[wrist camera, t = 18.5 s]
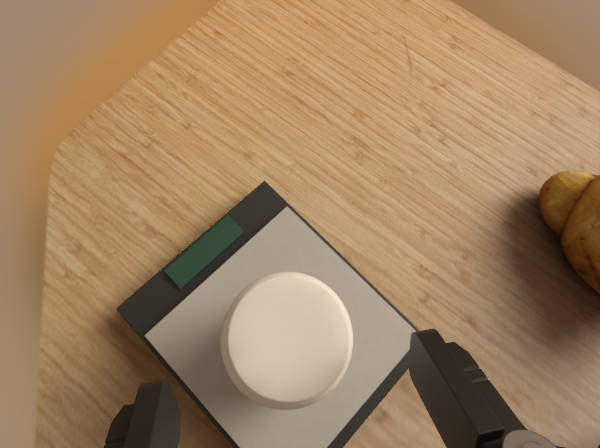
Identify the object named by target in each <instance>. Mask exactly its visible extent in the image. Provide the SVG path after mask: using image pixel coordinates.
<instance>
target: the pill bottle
mask: <svg viewBox="0 0 600 448" xmlns="http://www.w3.org/2000/svg"><path fill="white" fill-rule="evenodd" d="M352 349H353V331H352V325H351V321H350V317H349V315H348V312H347V310H346V308H345V306H344V304H343V303H342V301H341V300H340V298H339V297H338V296H337V294H336V293H335V292H334V291H333V290H332V289H331V288H330V287H328V286H327V285H326V284H324V283H323V282H322V281H320V280H318V279H316V278H314V277H312V276H309V275H306V274H303V273H298V272H279V273H273V274H270V275H266V276H264V277H261V278H259V279H257V280H255V281H254V282H252V283H251V284H249V285H248V286H247V287H245V288H244V289H243V290H242V291H241V292H240V293H239V294H238V295H237V297H236V298H235V299H234V301H233V302H232V304H231V305H230V307H229V309H228V311H227V313H226V315H225V318H224V321H223V325H222V330H221V353H222V359H223V362H224V365H225V368H226V370H227V372H228V374H229V376H230V378H231V380H232V381H233V383H234V384H235V385H236V387H237V388H238V389H239V390H240V391H241V392H242V393H243V394H244V395H245V396H247V397H248V398H249V399H251V400H252V401H254V402H256V403H258V404H260V405H262V406H265V407H268V408H272V409H277V410H294V409H300V408H304V407H307V406H310V405H312V404H314V403H316V402H318V401H320V400H322V399H323V398H324V397H326V396H327V395H328V394H329V393H330V392H331V391H333V389H334V388H335V387H336V386H337V385H338V383H339V382H340V381H341V379H342V377H343V376H344V374H345V372H346V370H347V368H348V365H349V362H350V359H351V355H352Z"/></svg>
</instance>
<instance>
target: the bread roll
mask: <svg viewBox="0 0 600 448" xmlns="http://www.w3.org/2000/svg"><path fill="white" fill-rule="evenodd" d="M539 203H540V210H541V214H542V217H543V219H544V221H545V222H546V224H547V225H548V226H549V227H550V228H551V229H552V230H553V231H554V232H555V233H556V234H557V235H558V236H560V238H561V247H562V249H563V251H564V253H565V255H566V259H567V260H568V261H569V262H570V264H571V265H572V267H573V268H574V270H575V271H576V272H577V273H578V274H579V275H580V277H581V278H582V279H583V280H584V281H585V282H586V283H587V284H588V285H589V286H590V287H592V288H593V289H594V290H595V291H596V292H598V293H599V294H600V175H593V174H589V173H584V172H578V171H566V172H560V173H557V174H555V175H553V176H551V177H550V178H549V179H548V180H547V181H546V182H545V183H544V184H543V186H542V188H541V190H540V193H539Z"/></svg>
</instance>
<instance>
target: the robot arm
mask: <svg viewBox="0 0 600 448" xmlns="http://www.w3.org/2000/svg"><path fill="white" fill-rule="evenodd" d="M409 372H410V376H411V379H412V381H413V384H414V386H415V388H416V389H417V391H418V393H419V395H420V397H421V399H422V401H423V403H424V405H425V407H426V409H427V411H428V413H429V415H430V416H431V418H432V420H433V422H434V424H435V426H436V428H437V430H438V432H439V434H440V436H441V438H442V440H443V442H444V443H445V445H446V447H447V448H564V447H558V446H555V445H554V444H552V443H551V442H550V441H549V440H547V439H546V438H545V437H543V436H541V435H539V434H537V433H535V432H532V431H528V430H527V429H526V428H525V427H524V426H523V425H522V423H521V422H520V421H519V420H518V418H517V417H516V415H515V414H514V413H513V411H512V410H511V409H510V407H509V406H508V405H507V403H506V402H505V401H504V399H503V398H502V397H501V395H500V394H499V393H498V391H497V390H496V389H495V387H494V386H493V385H492V383H491V382H490V381H488V379H487V377H486V375H485V374H484V373H483V371H482V370H481V369H479V366H478V364H477V363H476V362H475V360H474V359H473V358H472V356H471V355H470V354H469V352H467V351H466V350H464V349H463V348H462V347H460V346H459V345H458V344H456V343H455V342H451V343H445V341H444V340H443V338H442V337H441V335H440V334H439V333H438V331H437V330H435V329H429V330H423V331H418V332H413V333H412V334H411V339H410V351H409ZM179 435H180V413H179V409H178V406H177V403H176V400H175V398H174V395H173V392H172V389H171V387H170V384H169V381H168V380H167V379H163V380H158V381H153V382H147V383H142V384H141V385H140V386H139V389H138V392H137V396H136V400H135V403H134V404H130V405H124V406H123V407H122V409H121V410H120V411H119V413H118V414H117V416H116V417H115V418H114V420H113V421H112V423H111V425H110V429H109V432H108V435H107V438H106V441H105V442H106V444H105V445H104V447H103V448H178V443H179ZM598 448H600V445H599V447H598Z"/></svg>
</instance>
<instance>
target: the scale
mask: <svg viewBox="0 0 600 448" xmlns="http://www.w3.org/2000/svg"><path fill="white" fill-rule="evenodd" d="M279 272H298V273H303V274H306V275H309V276H312V277H314V278H316V279H318V280H320V281H322V282H323V283H324V284H326V285H327V286H328V287H330V288H331V289H332V290H333V291H334V292H335V293H336V294H337V296H338V297H339V298H340V300H341V301H342V303H343V304H344V306H345V308H346V310H347V312H348V315H349V317H350V321H351V325H352V331H353V349H352V355H351V359H350V362H349V365H348V368H347V370H346V372H345V374H344V376H343V377H342V379H341V381H340V382H339V383H338V385H337V386H336V387H335V388H334V389H333V391H331V392H330V393H329V394H328V395H327V396H326V397H324V398H323V399H322V400H320V401H318V402H316V403H314V404H312V405H310V406H307V407H304V408H300V409H294V410H277V409H272V408H268V407H265V406H262V405H260V404H258V403H256V402H254V401H252V400H251V399H249V398H248V397H247V396H245V395H244V394H243V393H242V392H241V391H240V390H239V389H238V388H237V387H236V385H235V384H234V383H233V381H232V380H231V378H230V376H229V374H228V372H227V370H226V368H225V365H224V362H223V359H222V353H221V330H222V325H223V321H224V318H225V315H226V313H227V311H228V309H229V307H230V305H231V304H232V302H233V301H234V299H235V298H236V297H237V295H238V294H239V293H240V292H241V291H242V290H243V289H244V288H245V287H247V286H248V285H249V284H251V283H252V282H254V281H255V280H257V279H259V278H261V277H264V276H266V275H270V274H273V273H279ZM117 310H118V312H119V313H120V314H121V315H122V316H123V318H124V319H125V320H126V321H127V322H128V323H129V325H130V326H131V327H132V328H133V329H134V330H135V332H136V333H137V334H138V335H139V336H140V338H141V339H142V340H143V341H144V342H145V343H146V345H147V346H148V347H149V348H150V349H151V351H152V352H153V353H154V354H155V355H156V356H157V358H158V359H159V360H160V361H161V362H162V363H163V365H164V366H165V367H166V368H167V369H168V371H169V372H170V373H171V374H172V375H173V376H174V378H175V379H176V380H177V381H178V382H179V384H180V385H181V386H182V387H183V388H184V389H185V391H186V392H187V393H188V394H189V395H190V396H191V398H192V399H193V400H194V401H195V402H196V404H197V405H198V406H199V407H200V408H201V409H202V411H203V412H204V413H205V414H206V415H207V417H208V418H209V419H210V420H211V421H212V422H213V424H214V425H215V426H216V427H217V428H218V429H219V431H220V432H221V433H222V434H223V435H224V437H225V438H226V439H227V440H228V441H229V442H230V444H231V445H232V446H233V447H234V448H343V446H344V445H345V444H346V443H347V442H348V440H349V439H350V438H351V437H352V436H353V434H354V433H355V432H356V431H357V430H358V428H359V427H360V426H361V425H362V424H363V422H364V421H365V420H366V419H367V417H368V416H369V415H370V414H371V413H372V411H373V410H374V409H375V408H376V407H377V405H378V404H379V403H380V402H381V401H382V399H383V398H384V397H385V396H386V395H387V393H388V392H389V391H390V390H391V389H392V387H393V386H394V385H395V384H396V383H397V381H398V380H399V379H400V378H401V376H402V375H403V374H404V373H405V372H406V370H407V369H408V368H409V351H410V339H411V334H412V333H413V332H418V331H419V330H418V329H417V328H416V327H415V326H414V325H413V324H412V323H411V322H410V321H409V320H408V319H407V318H406V317H405V316H404V315H403V314H402V313H401V312H400V311H399V310H398V309H397V308H396V307H395V306H394V305H393V304H392V303H390V302H389V301H388V300H387V299H386V298H385V297H384V296H383V295H382V294H381V293H380V292H379V291H378V290H377V289H376V288H375V287H374V286H373V285H372V284H371V283H370V282H369V281H368V280H367V279H366V278H365V277H364V276H363V275H362V274H361V273H359V272H358V271H357V270H356V269H355V268H354V267H353V266H352V265H351V264H350V263H349V262H348V261H347V260H346V259H345V258H344V257H343V256H342V255H341V254H340V253H339V252H338V251H337V250H336V249H335V248H334V247H333V246H332V245H331V244H329V243H328V242H327V241H326V240H325V239H324V238H323V237H322V236H321V235H320V234H319V233H318V232H317V231H316V230H315V229H314V228H313V227H312V226H311V225H310V224H309V223H308V222H307V221H306V220H305V219H304V218H303V217H302V216H301V215H299V214H298V213H297V212H296V211H295V210H294V209H293V208H292V207H291V206H290V205H289V204H288V203H287V202H286V201H285V200H284V199H283V198H282V197H281V196H280V195H279V194H278V193H277V192H276V191H275V190H274V189H273V188H272V187H271V186H269V185H268V184H267V183H266V182H265V181H264V182H263V183H261V184H260V185H259V186H258V187H257V188H256V189H254V190H253V191H252V192H251V193H250V194H249V195H248V196H246V197H245V198H244V199H243V200H242V201H241V202H239V203H238V204H237V205H236V206H235V207H234V208H232V209H231V210H230V211H229V212H228V213H227V214H226V215H224V216H223V217H222V218H221V219H220V220H219V221H217V222H216V223H215V224H214V225H213V226H212V227H210V228H209V229H208V230H207V231H206V232H205V233H204V234H202V235H201V236H200V237H199V238H198V239H197V240H195V241H194V242H193V243H192V244H191V245H190V246H188V247H187V248H186V249H185V250H184V251H183V252H182V253H180V254H179V255H178V256H177V257H176V258H175V259H173V260H172V261H171V262H170V263H169V264H168V265H166V266H165V267H164V268H163V269H162V270H161V271H160V272H158V273H157V274H156V275H155V276H154V277H153V278H151V279H150V280H149V281H148V282H147V283H146V284H144V285H143V286H142V287H141V288H140V289H139V290H138V291H136V292H135V293H134V294H133V295H132V296H131V297H129V298H128V299H127V300H126V301H125V302H124V303H122V304H121V305H120V306H119V307H118V308H117Z"/></svg>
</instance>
